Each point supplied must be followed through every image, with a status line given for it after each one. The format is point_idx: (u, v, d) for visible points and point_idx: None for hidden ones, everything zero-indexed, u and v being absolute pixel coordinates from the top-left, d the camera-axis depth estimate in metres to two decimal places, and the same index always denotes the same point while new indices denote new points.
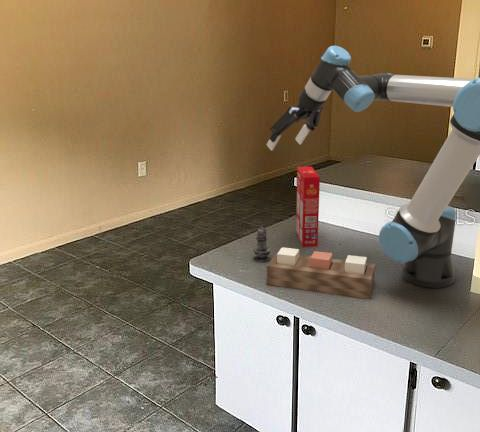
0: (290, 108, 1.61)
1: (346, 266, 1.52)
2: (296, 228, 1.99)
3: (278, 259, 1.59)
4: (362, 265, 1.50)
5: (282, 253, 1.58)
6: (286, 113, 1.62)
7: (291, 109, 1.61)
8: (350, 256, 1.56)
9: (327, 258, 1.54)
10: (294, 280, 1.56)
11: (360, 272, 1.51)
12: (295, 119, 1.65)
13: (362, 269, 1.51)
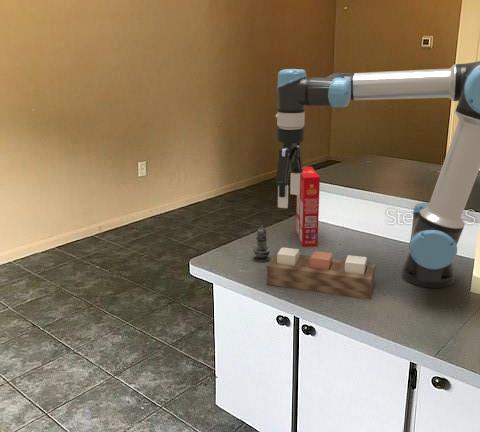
0: (281, 151, 1.44)
1: (346, 266, 1.52)
2: (296, 228, 1.99)
3: (278, 259, 1.59)
4: (362, 265, 1.50)
5: (282, 253, 1.58)
6: (280, 158, 1.44)
7: (283, 151, 1.44)
8: (350, 256, 1.56)
9: (327, 258, 1.54)
10: (294, 280, 1.56)
11: (360, 272, 1.51)
12: (290, 161, 1.47)
13: (362, 269, 1.51)
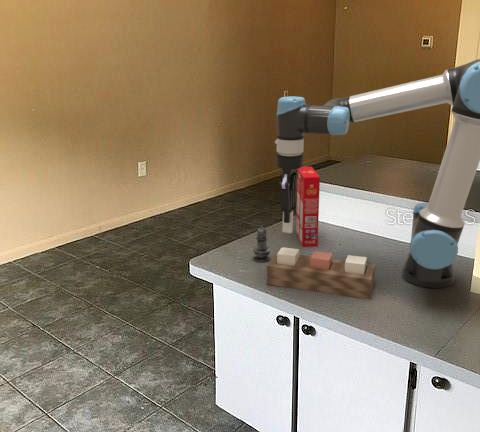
0: (281, 185, 1.47)
1: (346, 266, 1.52)
2: (296, 228, 1.99)
3: (278, 259, 1.59)
4: (362, 265, 1.50)
5: (282, 253, 1.58)
6: (281, 190, 1.49)
7: (282, 185, 1.47)
8: (350, 256, 1.56)
9: (327, 258, 1.54)
10: (294, 280, 1.56)
11: (360, 272, 1.51)
12: (291, 188, 1.51)
13: (362, 269, 1.51)
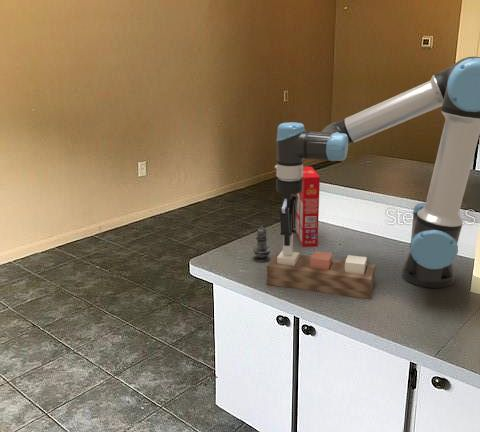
0: (281, 210, 1.50)
1: (346, 266, 1.52)
2: (296, 228, 1.99)
3: (278, 262, 1.59)
4: (362, 265, 1.50)
5: (282, 257, 1.59)
6: (281, 215, 1.51)
7: (282, 210, 1.50)
8: (350, 256, 1.56)
9: (327, 258, 1.54)
10: (294, 280, 1.56)
11: (360, 272, 1.51)
12: (290, 212, 1.54)
13: (362, 269, 1.51)
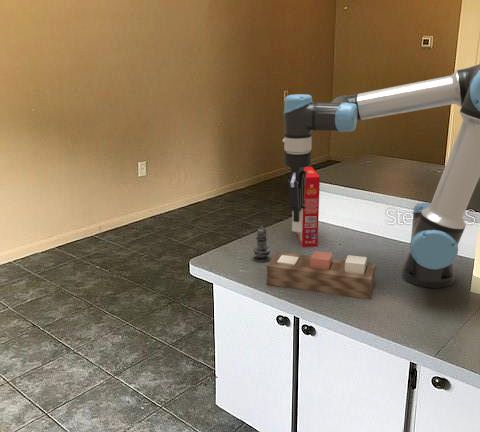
0: (289, 184, 1.46)
1: (346, 266, 1.52)
2: None
3: None
4: (362, 265, 1.50)
5: (282, 261, 1.59)
6: (290, 189, 1.48)
7: (291, 184, 1.46)
8: (350, 256, 1.56)
9: (327, 258, 1.54)
10: (294, 280, 1.56)
11: (360, 272, 1.51)
12: (299, 187, 1.50)
13: (362, 269, 1.51)
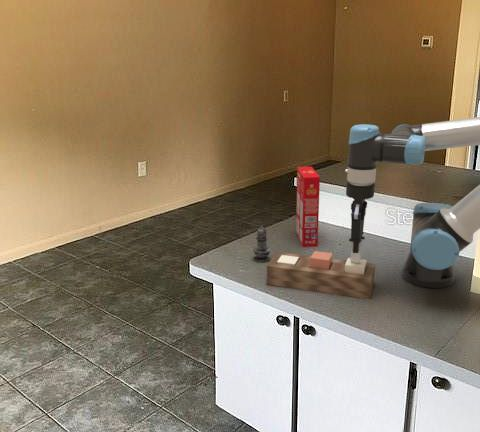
0: (353, 216, 1.43)
1: (346, 269, 1.52)
2: (296, 228, 1.99)
3: None
4: (362, 268, 1.51)
5: (282, 261, 1.59)
6: (353, 221, 1.45)
7: (355, 216, 1.43)
8: None
9: (327, 258, 1.54)
10: (294, 280, 1.56)
11: None
12: (361, 218, 1.47)
13: (362, 272, 1.51)
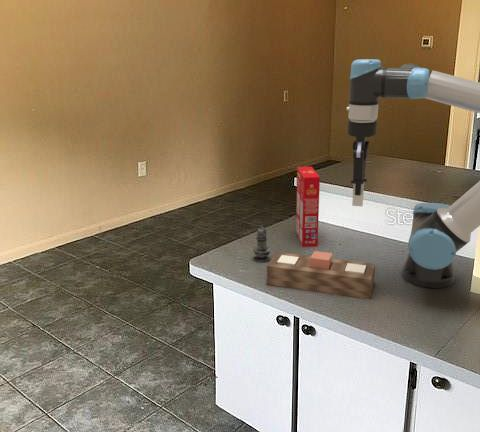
0: (355, 154, 1.39)
1: None
2: (296, 228, 1.99)
3: None
4: (361, 273, 1.51)
5: (282, 261, 1.59)
6: (355, 160, 1.40)
7: (357, 154, 1.39)
8: (350, 264, 1.57)
9: (327, 258, 1.54)
10: (294, 280, 1.56)
11: None
12: (363, 158, 1.43)
13: None
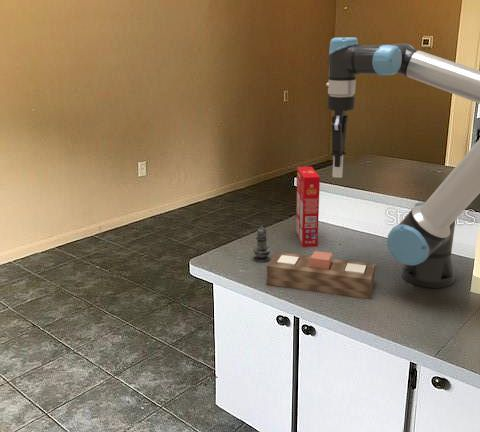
0: (333, 126, 1.48)
1: None
2: (296, 228, 1.99)
3: None
4: (361, 273, 1.51)
5: (282, 261, 1.59)
6: (333, 132, 1.49)
7: (335, 126, 1.47)
8: (350, 264, 1.57)
9: (327, 258, 1.54)
10: (294, 280, 1.56)
11: None
12: (342, 131, 1.51)
13: None
